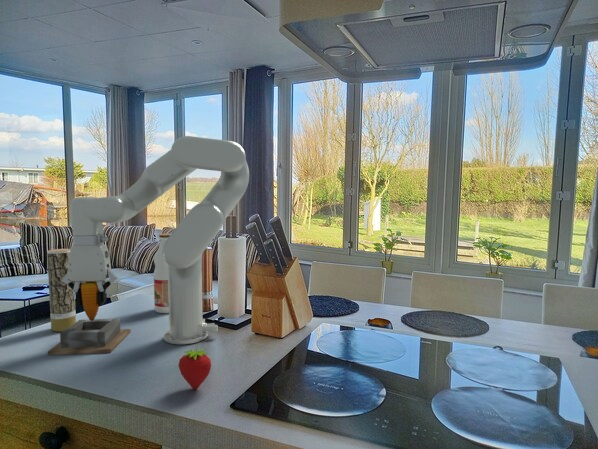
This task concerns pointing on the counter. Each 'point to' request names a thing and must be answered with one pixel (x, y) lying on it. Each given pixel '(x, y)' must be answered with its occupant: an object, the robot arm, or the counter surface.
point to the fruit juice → (161, 278)
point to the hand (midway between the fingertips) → (91, 304)
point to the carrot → (90, 299)
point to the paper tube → (60, 291)
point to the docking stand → (90, 337)
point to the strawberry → (195, 367)
